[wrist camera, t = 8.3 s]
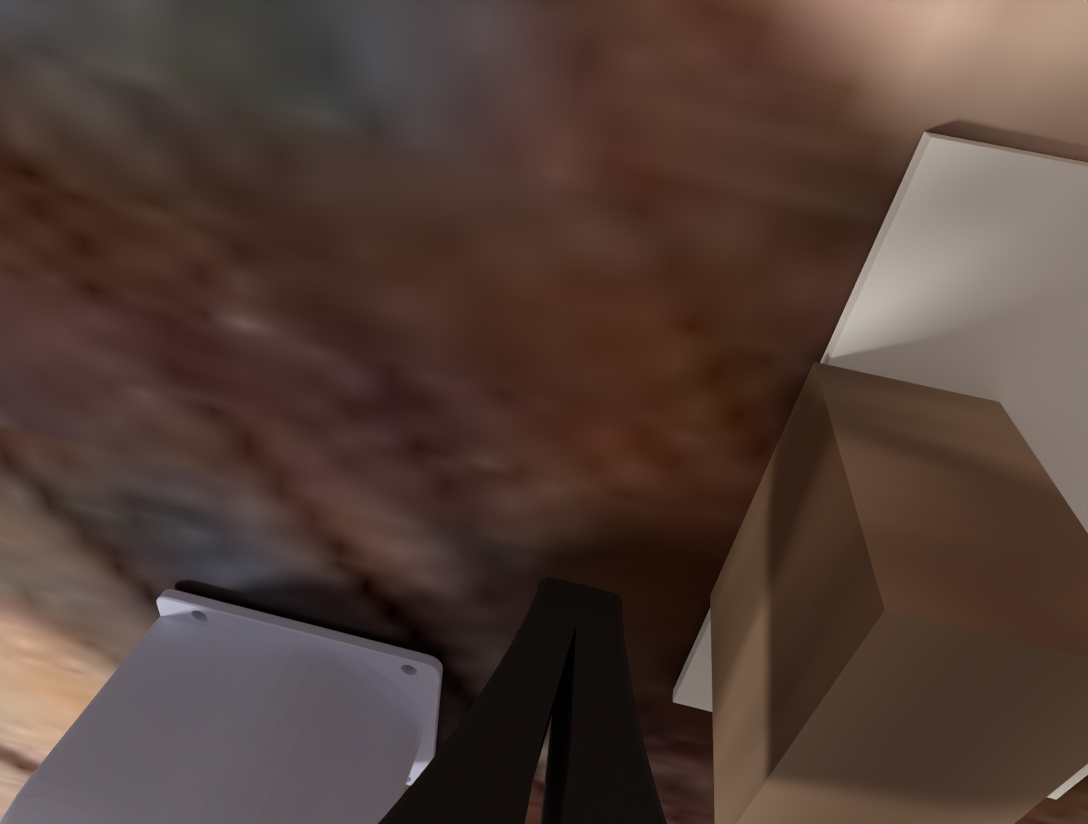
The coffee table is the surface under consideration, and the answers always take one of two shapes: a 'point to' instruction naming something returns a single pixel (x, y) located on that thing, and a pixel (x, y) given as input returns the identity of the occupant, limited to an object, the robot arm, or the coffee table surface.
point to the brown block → (899, 618)
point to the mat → (975, 310)
